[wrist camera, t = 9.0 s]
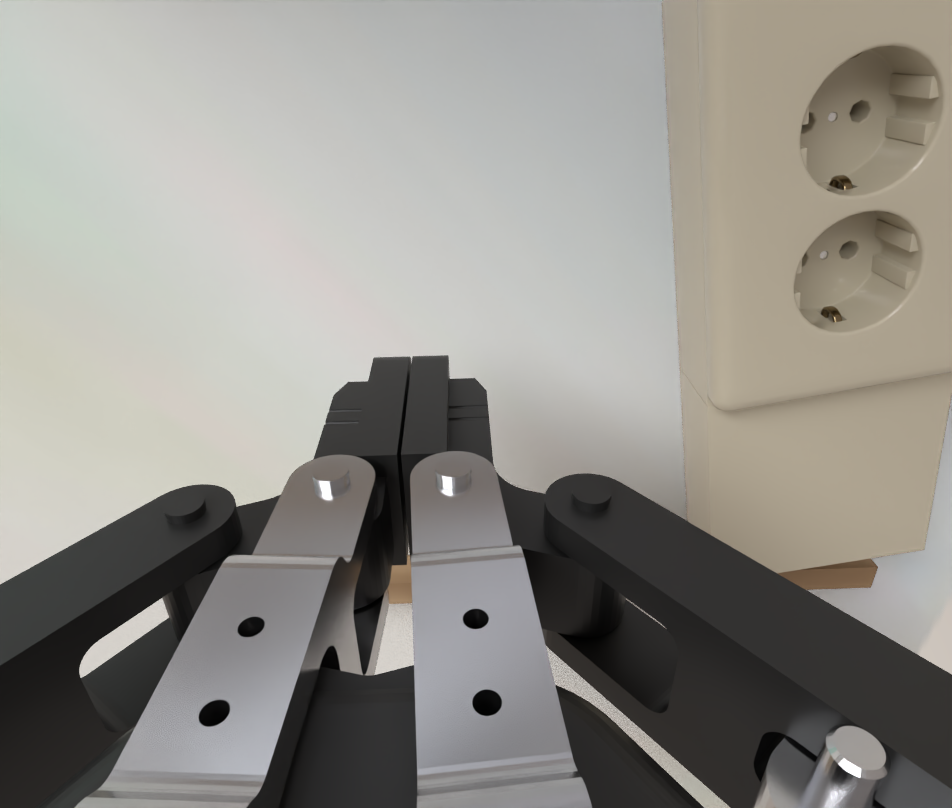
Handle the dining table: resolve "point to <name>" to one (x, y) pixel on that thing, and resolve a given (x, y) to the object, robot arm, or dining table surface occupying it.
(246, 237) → the dining table surface
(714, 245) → the electrical outlet
